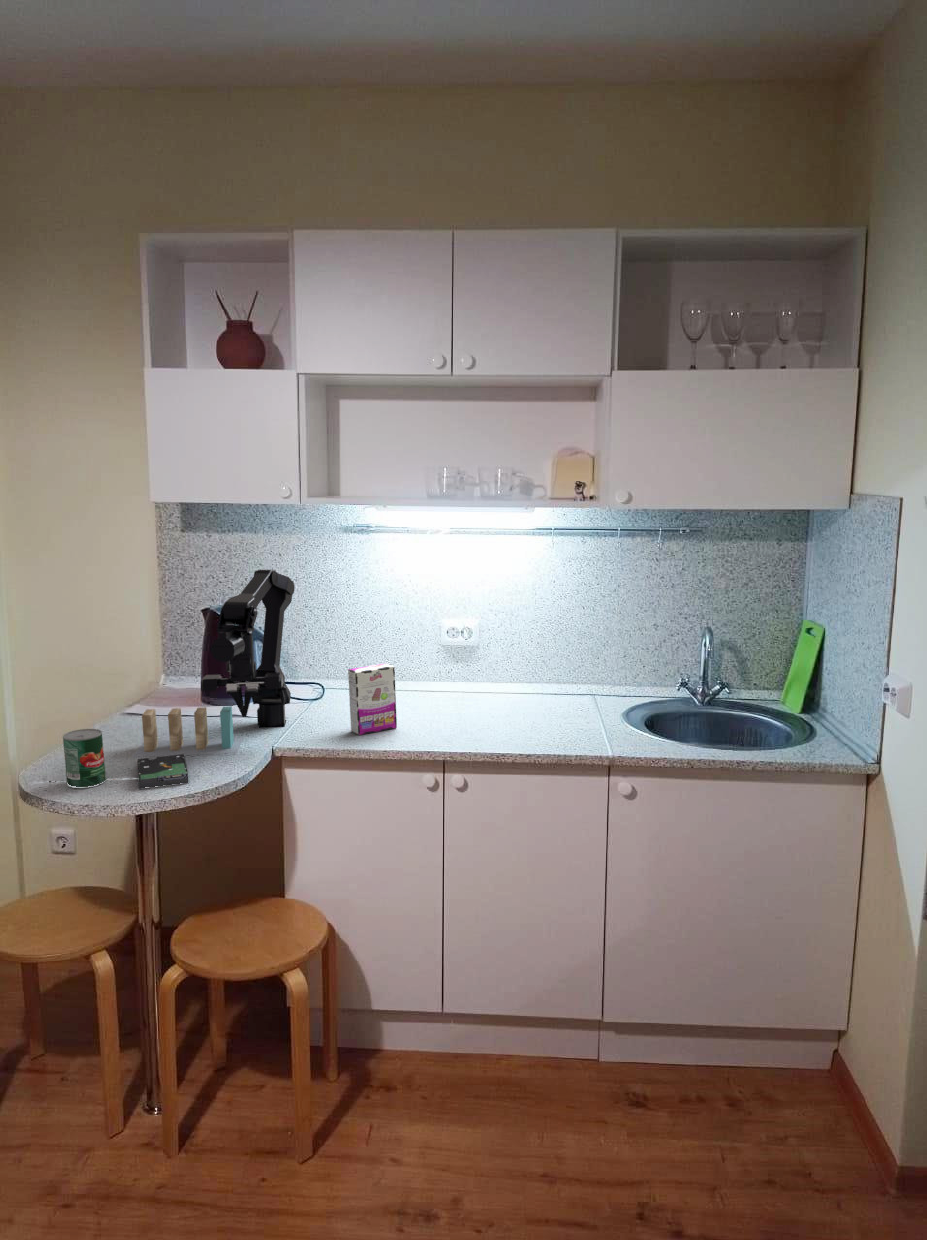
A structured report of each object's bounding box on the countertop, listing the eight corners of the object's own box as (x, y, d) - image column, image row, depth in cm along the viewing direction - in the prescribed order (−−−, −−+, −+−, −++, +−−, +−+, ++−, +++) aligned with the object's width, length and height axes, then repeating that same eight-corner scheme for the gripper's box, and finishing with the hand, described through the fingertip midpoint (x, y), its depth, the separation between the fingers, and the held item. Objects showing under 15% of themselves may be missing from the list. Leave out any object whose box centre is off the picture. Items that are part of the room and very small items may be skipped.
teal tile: (222, 748, 223) (220, 712, 221) (225, 742, 228) (223, 706, 226) (230, 748, 223) (228, 711, 221) (233, 742, 228) (231, 706, 226)
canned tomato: (74, 776, 206) (70, 728, 204) (111, 775, 206) (107, 727, 204) (61, 789, 198) (56, 739, 196) (99, 788, 198) (95, 738, 196)
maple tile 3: (183, 744, 227) (180, 708, 225) (179, 750, 222) (176, 713, 220) (174, 744, 226) (172, 708, 225) (170, 750, 221) (168, 714, 220)
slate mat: (243, 739, 231) (243, 737, 231) (237, 754, 220) (237, 752, 220) (144, 743, 229) (144, 741, 229) (132, 759, 217) (132, 757, 217)
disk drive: (137, 771, 211) (139, 791, 198) (136, 759, 211) (138, 779, 197) (184, 765, 215) (190, 785, 201) (184, 753, 214) (189, 772, 201)
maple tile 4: (157, 745, 226) (155, 709, 224) (153, 751, 221) (150, 714, 219) (149, 745, 226) (146, 709, 224) (144, 751, 221) (141, 715, 219)
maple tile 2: (208, 743, 227) (206, 707, 226) (205, 749, 222) (202, 712, 221) (200, 743, 227) (197, 707, 225) (196, 749, 222) (194, 713, 220)
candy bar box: (388, 723, 244) (386, 662, 241) (397, 728, 239) (395, 666, 236) (349, 731, 237) (347, 668, 235) (358, 736, 233) (356, 672, 230)
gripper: (283, 645, 230) (286, 706, 233) (206, 647, 228) (210, 709, 231) (279, 654, 220) (282, 718, 222) (198, 657, 218) (202, 721, 220)
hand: (244, 716), depth 224 cm, fingers closed
